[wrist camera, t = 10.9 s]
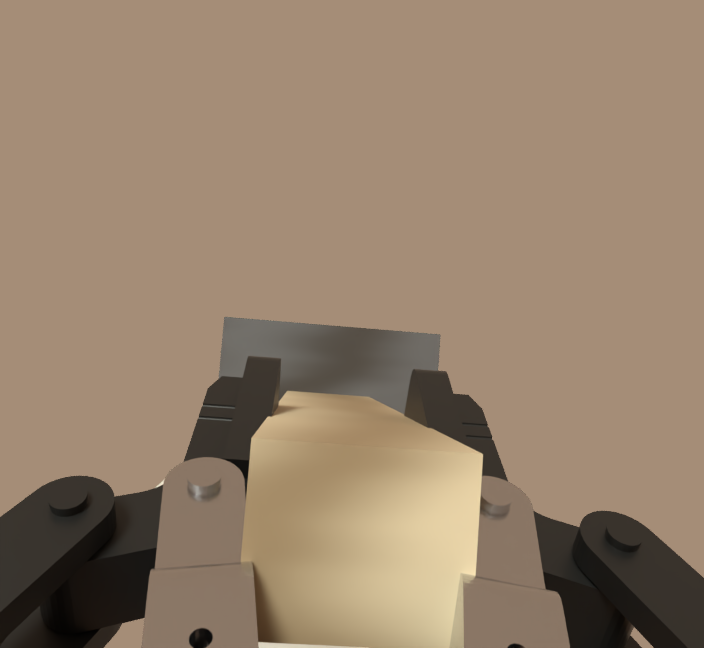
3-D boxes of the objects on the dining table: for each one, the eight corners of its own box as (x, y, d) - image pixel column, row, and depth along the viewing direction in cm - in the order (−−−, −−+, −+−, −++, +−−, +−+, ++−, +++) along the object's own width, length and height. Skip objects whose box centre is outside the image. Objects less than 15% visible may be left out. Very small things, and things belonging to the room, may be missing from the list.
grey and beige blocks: (26, 630, 8) (71, 226, 8) (231, 436, 29) (241, 327, 29) (659, 661, 8) (675, 280, 9) (405, 448, 29) (413, 340, 29)
